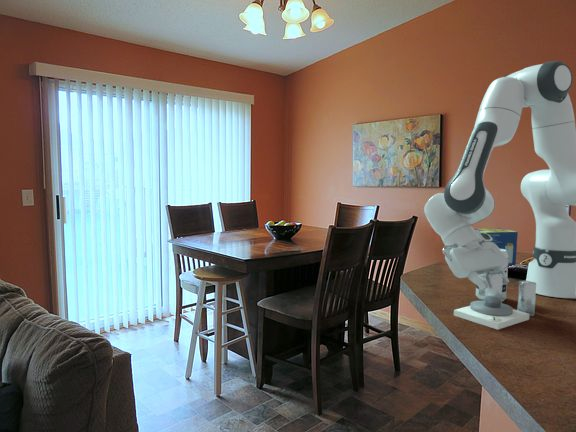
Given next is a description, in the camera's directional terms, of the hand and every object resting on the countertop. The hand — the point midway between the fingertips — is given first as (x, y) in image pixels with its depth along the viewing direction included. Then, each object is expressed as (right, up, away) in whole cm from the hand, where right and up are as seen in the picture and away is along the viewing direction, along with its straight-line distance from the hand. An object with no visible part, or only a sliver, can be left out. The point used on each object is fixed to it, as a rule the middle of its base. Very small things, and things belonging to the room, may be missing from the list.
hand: (495, 286), depth 108 cm
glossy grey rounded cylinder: (0, -5, +1) cm, 5 cm away
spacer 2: (+9, -8, +3) cm, 12 cm away
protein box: (+28, -3, +61) cm, 67 cm away
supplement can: (+7, -7, +16) cm, 19 cm away
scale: (-2, -8, -1) cm, 8 cm away
